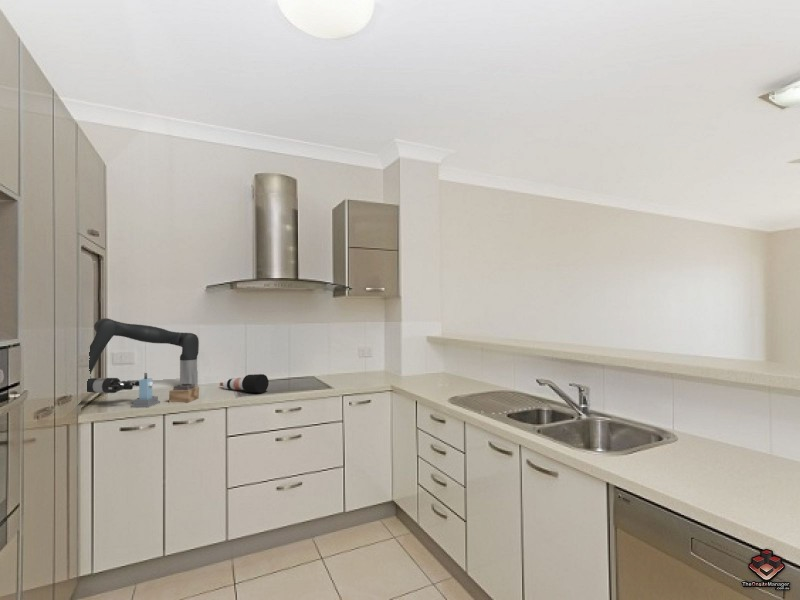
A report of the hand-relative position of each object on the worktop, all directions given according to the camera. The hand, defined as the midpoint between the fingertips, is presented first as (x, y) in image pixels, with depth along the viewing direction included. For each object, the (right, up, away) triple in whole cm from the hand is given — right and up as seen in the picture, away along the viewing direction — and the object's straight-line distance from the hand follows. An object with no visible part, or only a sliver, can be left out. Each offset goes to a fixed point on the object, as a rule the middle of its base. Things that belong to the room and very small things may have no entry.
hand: (138, 385), depth 202 cm
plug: (+4, -9, 0) cm, 10 cm away
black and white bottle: (+39, -10, +32) cm, 52 cm away
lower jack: (+4, -10, 0) cm, 11 cm away
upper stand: (+18, -10, +9) cm, 23 cm away
